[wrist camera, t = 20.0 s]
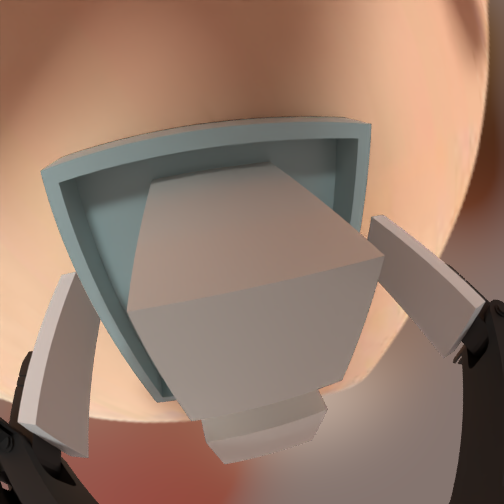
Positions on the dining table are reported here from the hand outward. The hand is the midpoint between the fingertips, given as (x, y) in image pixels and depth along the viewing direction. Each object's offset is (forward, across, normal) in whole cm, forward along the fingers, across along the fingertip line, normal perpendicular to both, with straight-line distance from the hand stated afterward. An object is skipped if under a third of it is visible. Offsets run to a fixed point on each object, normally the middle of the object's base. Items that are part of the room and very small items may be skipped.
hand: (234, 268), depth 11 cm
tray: (+5, 0, -4) cm, 7 cm away
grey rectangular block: (+4, 0, 0) cm, 4 cm away
